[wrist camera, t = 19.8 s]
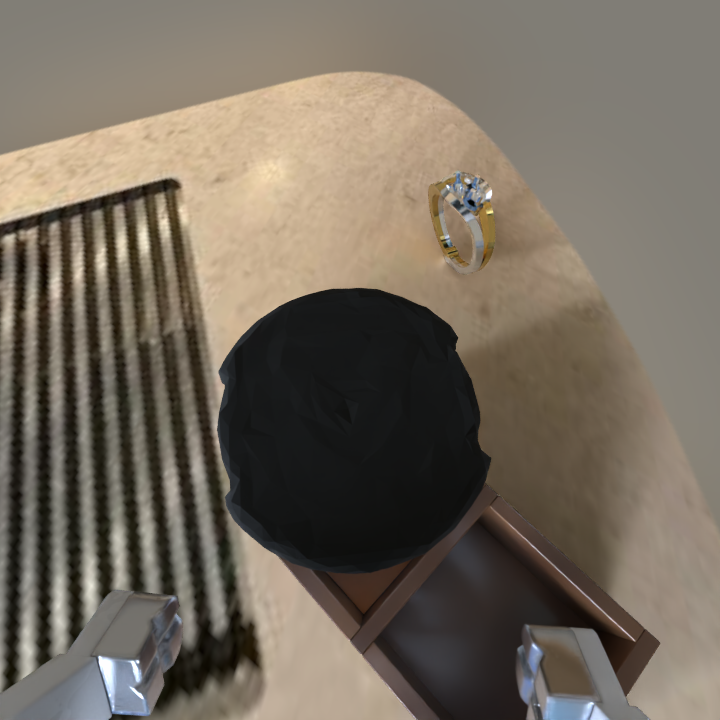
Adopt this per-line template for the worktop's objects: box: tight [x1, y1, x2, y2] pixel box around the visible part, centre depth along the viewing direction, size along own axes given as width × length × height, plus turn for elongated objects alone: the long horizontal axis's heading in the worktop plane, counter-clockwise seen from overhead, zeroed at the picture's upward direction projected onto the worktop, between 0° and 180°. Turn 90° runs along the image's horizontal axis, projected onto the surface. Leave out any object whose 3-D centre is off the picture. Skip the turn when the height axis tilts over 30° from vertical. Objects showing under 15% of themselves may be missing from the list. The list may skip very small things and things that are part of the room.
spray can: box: [217, 288, 491, 574], centre depth 19 cm, size 7×7×20 cm
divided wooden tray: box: [277, 483, 660, 720], centre depth 25 cm, size 19×10×6 cm, turn 45°
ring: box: [428, 171, 495, 275], centre depth 33 cm, size 7×3×8 cm, turn 20°
